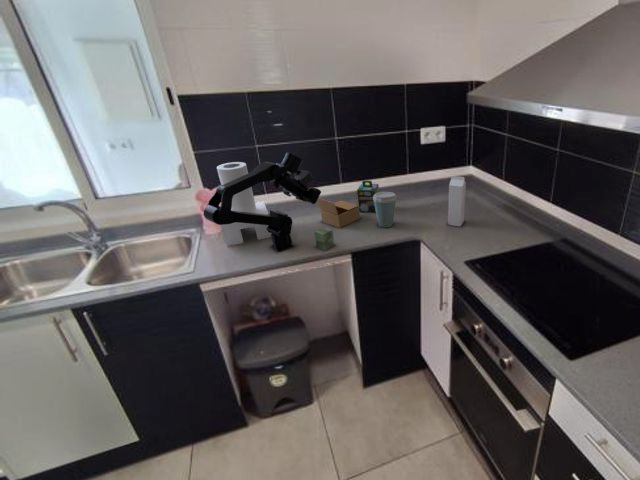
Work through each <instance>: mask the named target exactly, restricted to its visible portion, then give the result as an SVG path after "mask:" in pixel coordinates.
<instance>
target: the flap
mask: <svg viewBox="0 0 640 480" xmlns="http://www.w3.org/2000/svg"><path fill="white" fill-rule="evenodd" d="M316 203H317V205H318V207H319V209H320V210H325V211H328V212H331V213H334V214H337V215H338V212H337V210H336V207H335V204H334V203H335V202H333V201H330V200H327V199H323V198H321V197H319V198H318V200H317V201H316Z"/></svg>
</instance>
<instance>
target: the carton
mask: <svg viewBox="0 0 640 480" xmlns="http://www.w3.org/2000/svg"><path fill="white" fill-rule="evenodd" d="M333 203H334V204H335V207H336V210H337V212H338V215H337V214H334V213H331V212H328V211H325V210H322V209H320V215H321V221H322V223H325V224H328V225H330V226H333V227H336V228H338V229H341V228H343V227H345V226H347V225H349V224H351V223H353V222H356V221H358V220H360V219H361V216H360V215H361V214H360V212H359V205H358V204H354V203H351V202H348V201H345V200H338V201H336V202H333Z"/></svg>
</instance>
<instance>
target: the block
mask: <svg viewBox="0 0 640 480" xmlns="http://www.w3.org/2000/svg"><path fill="white" fill-rule="evenodd" d="M314 238H315V243H316V244H315V245H316V248H319V249H321V250H324V251H326V250H328V249H330V248H333V247H334V246H335V239H334V232H333V229H330V228H328V227H325V226H324V227H321V228H319V229H317V230H314Z"/></svg>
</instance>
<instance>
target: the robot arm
mask: <svg viewBox="0 0 640 480" xmlns="http://www.w3.org/2000/svg"><path fill="white" fill-rule="evenodd" d="M302 163H303V159H302V158H301V157H299V156H297V155H295V154H292V153H291V152H289V151H286V153H285V155H284V158H283V160H282V161H281V163H278V162H277V163H276V162H270V161H263V162H261V163H259V165H257V166H256V167H255V168H254V169H253V170H252V171H250V172H248V174H246V175H244V176H241V177H239V178H237V179H235V180H233V181H230V182H228V183H226V184H223V185H221V184H220V185H218V186H217V187H216V190H215V192H214V194H213V195H212V196H211V197H210V198H209V200H208V202H207V204H206V206H205V207H204V209H203V216H204V218H205V219H206V220H207V221H210V222H212V223H214V224H216V225H218V226H221V225H225V224H232V223H235V222H238V223H249V224H259V225H268V226H267V228H266V229H267V231H268V232H269V233H272V234H271V237H270V238H271V242H272V244H271V247H272V248H273V249H274V250H276V251H277V252H281V251H285V250H287V249H290V248H292V247H294V245H293V241H292V235H291V234H292V227H293V219H292V217H291V216H288V215H289V214H287V213H284V212H282V211H279V210H276V211H274V210H269V214H257V213H249V212H241V211H233V210H231V208H232V198H233V196H234V195H235V194H237V193H239V192H242V191H244V190H246V189H248V188H250V187H254V186H256V185H259V184H261V183H266V182H270V187H271V188H274V189H279V187H281V188H282V189H283V190H282V193H283V194H284V195H285V196H287V197H295V199H296V200H299V201H303V202H305V203H308V204H312V205H315V204H316V203H317V200H318V198H320V196H321V193H322V190H320V189H319V188H316V187H314V186H311V187H309V186H308V184H309V182H310V181H312V180H313V179H314V176H313V175H312V173H311V172H310V170H305V169H301V170H299V169H300V167H301V165H302ZM292 175H294V177H293V176H292Z"/></svg>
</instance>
